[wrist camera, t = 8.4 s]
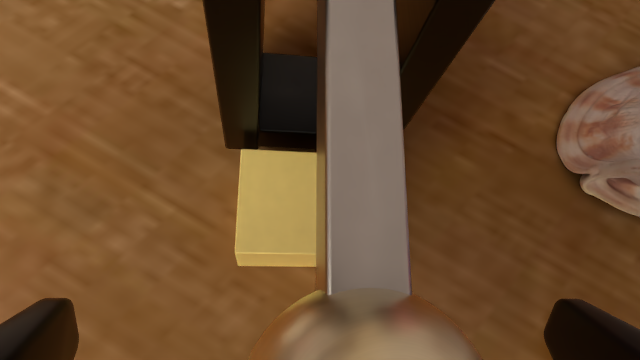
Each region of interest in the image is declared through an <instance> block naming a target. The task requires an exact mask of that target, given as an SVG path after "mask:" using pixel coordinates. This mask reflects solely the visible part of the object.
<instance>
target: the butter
mask: <svg viewBox="0 0 640 360" xmlns="http://www.w3.org/2000/svg"><path fill="white" fill-rule="evenodd" d="M316 172H317V153H316V152H295V151H275V150H255V149H241V156H240V172H239V188H238V205H237V221H236V237H235V256H236V260H237V264H238V266H289V267H316Z"/></svg>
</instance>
